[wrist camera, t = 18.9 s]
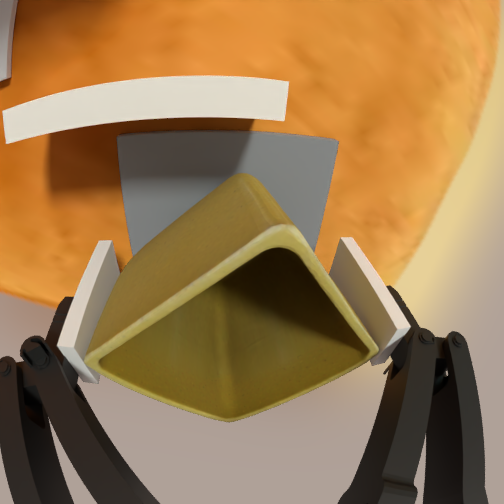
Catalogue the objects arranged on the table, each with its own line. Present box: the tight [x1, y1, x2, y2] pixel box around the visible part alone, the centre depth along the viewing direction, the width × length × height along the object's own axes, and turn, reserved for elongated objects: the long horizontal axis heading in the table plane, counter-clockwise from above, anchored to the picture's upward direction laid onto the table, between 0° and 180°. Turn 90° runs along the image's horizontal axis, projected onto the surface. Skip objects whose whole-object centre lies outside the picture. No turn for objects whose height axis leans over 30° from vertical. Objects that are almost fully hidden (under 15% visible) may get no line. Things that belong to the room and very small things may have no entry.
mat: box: [117, 130, 339, 256], centre depth 17 cm, size 12×12×1 cm
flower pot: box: [84, 173, 379, 422], centre depth 13 cm, size 9×9×9 cm
